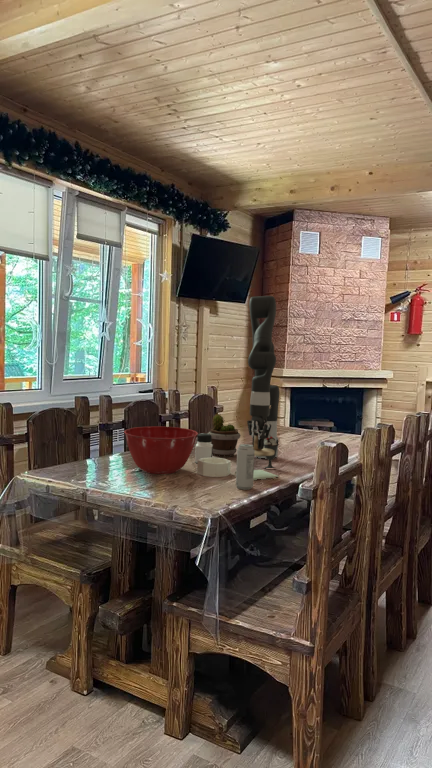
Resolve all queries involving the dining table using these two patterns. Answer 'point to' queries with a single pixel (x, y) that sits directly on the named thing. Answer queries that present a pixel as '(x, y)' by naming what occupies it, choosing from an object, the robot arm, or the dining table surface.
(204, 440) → the medicine bottle
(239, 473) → the energy drink can
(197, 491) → the dining table surface
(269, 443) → the sundae
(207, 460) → the bowl
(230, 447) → the flowerpot
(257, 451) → the lid
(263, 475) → the mat
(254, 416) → the robot arm
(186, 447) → the mixing bowl
